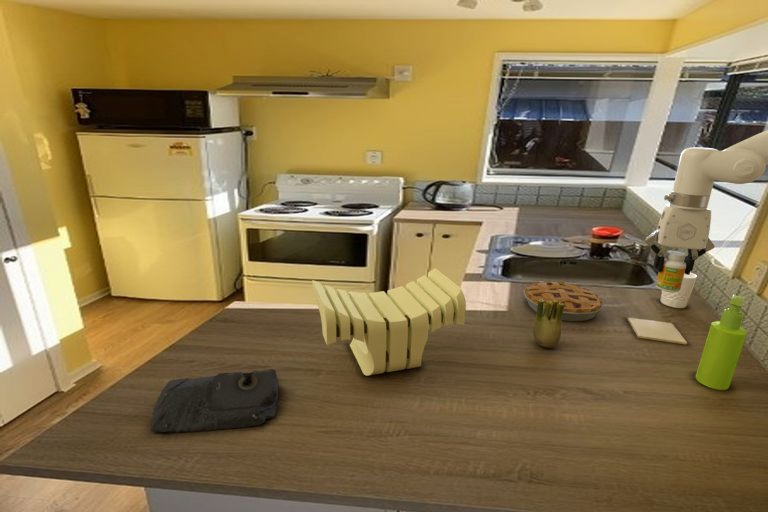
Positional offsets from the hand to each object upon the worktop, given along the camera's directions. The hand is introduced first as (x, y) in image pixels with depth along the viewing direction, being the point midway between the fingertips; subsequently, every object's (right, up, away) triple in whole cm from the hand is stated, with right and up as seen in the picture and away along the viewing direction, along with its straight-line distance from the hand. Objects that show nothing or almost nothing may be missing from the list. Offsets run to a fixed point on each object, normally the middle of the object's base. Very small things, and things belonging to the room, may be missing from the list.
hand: (671, 270), depth 107 cm
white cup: (+16, -11, +23) cm, 30 cm away
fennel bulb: (-33, -18, -2) cm, 38 cm away
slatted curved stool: (-73, -20, -10) cm, 76 cm away
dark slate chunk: (-104, -25, -26) cm, 110 cm away
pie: (-20, -12, +19) cm, 30 cm away
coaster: (-1, -16, +6) cm, 17 cm away
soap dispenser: (-2, -24, -16) cm, 29 cm away
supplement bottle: (0, -5, +2) cm, 5 cm away
